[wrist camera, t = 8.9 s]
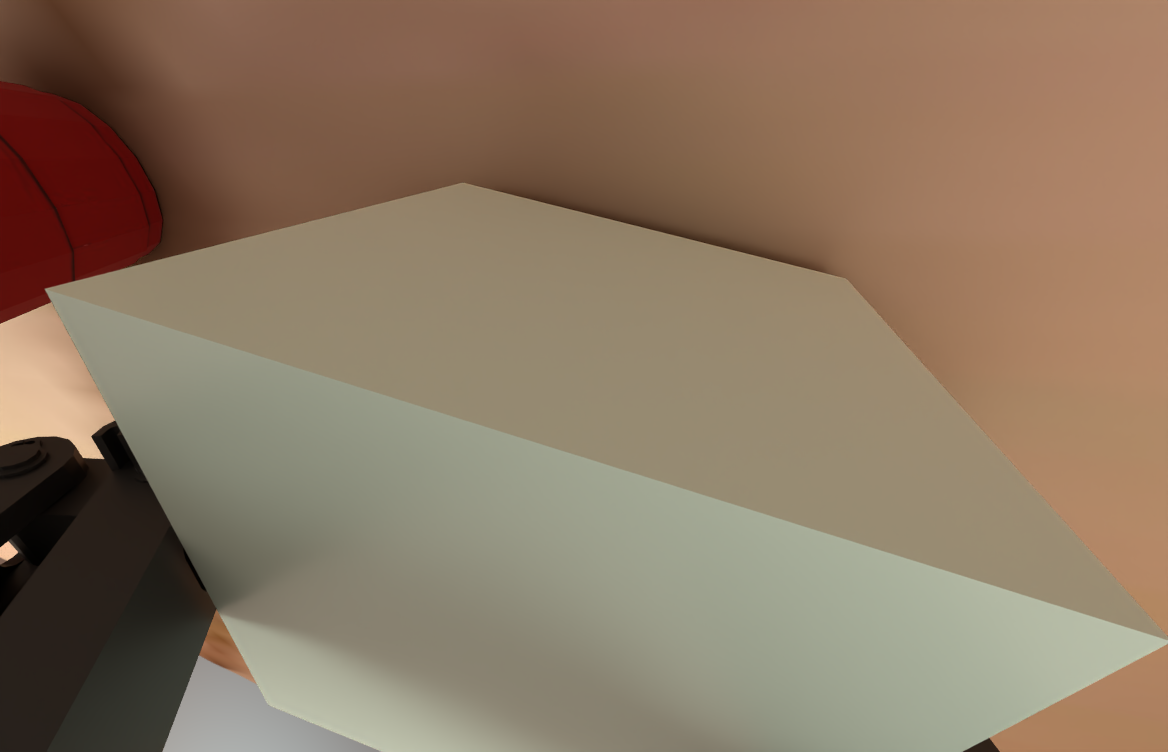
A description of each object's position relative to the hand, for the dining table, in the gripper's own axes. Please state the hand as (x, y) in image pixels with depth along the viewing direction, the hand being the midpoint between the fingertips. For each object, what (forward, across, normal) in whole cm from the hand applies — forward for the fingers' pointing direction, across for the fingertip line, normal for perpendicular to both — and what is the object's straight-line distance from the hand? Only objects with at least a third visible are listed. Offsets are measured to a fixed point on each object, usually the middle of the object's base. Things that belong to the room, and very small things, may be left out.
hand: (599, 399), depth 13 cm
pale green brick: (+1, 0, 0) cm, 1 cm away
